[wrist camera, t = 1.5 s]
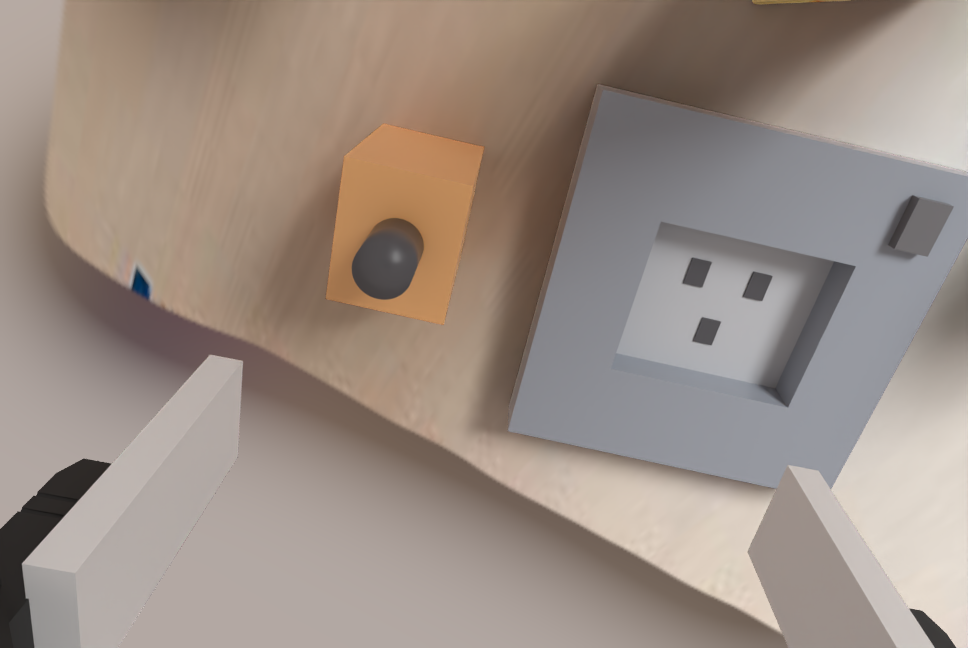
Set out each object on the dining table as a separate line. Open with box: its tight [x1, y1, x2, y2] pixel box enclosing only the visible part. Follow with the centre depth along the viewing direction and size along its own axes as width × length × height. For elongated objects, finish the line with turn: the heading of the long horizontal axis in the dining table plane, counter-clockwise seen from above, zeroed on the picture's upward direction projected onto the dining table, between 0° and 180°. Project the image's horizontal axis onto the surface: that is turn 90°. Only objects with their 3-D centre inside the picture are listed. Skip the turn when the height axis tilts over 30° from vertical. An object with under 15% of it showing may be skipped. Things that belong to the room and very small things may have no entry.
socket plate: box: [508, 84, 968, 489], centre depth 35 cm, size 18×18×3 cm
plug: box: [326, 124, 484, 325], centre depth 30 cm, size 6×5×11 cm
